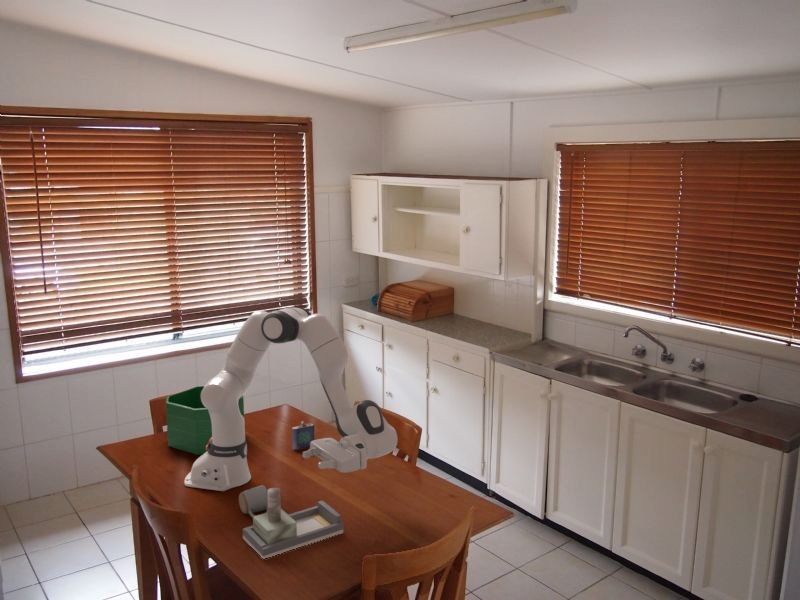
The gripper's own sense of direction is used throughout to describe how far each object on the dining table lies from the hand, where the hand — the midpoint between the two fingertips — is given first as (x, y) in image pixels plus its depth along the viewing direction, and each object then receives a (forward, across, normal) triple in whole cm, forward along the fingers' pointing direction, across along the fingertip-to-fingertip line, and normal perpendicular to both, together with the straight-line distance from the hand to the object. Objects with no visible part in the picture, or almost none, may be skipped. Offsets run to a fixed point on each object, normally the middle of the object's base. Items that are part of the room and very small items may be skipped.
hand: (311, 460), depth 207 cm
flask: (-28, -58, +22) cm, 68 cm away
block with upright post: (+12, 0, +21) cm, 24 cm away
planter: (0, -87, +22) cm, 90 cm away
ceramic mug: (+9, -20, +22) cm, 31 cm away
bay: (+6, 0, +22) cm, 23 cm away
